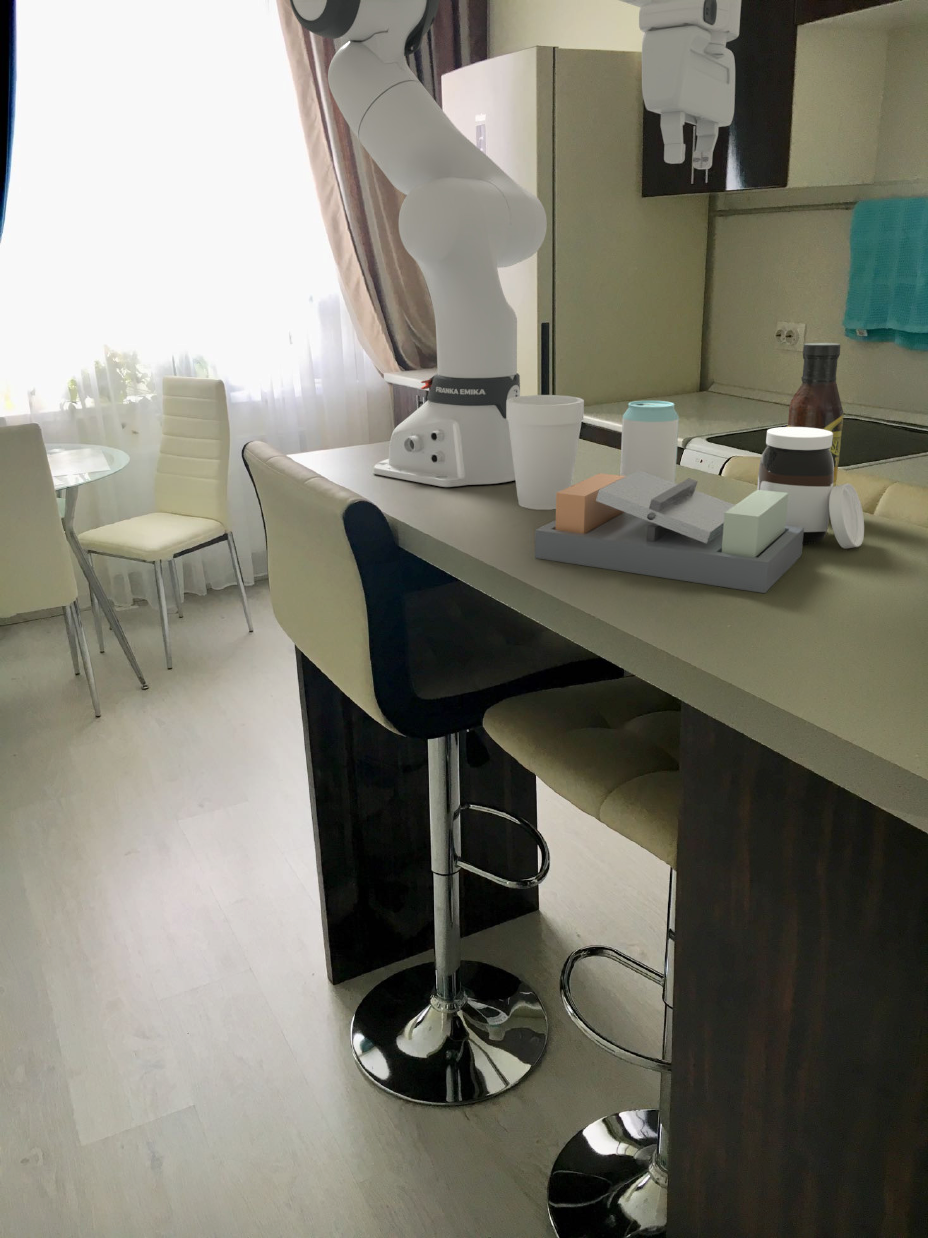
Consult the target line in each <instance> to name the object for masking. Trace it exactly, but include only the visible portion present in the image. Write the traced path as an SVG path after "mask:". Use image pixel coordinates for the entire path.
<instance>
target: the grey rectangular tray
mask: <svg viewBox="0 0 928 1238" xmlns="http://www.w3.org/2000/svg"><path fill="white" fill-rule="evenodd" d="M534 531H535V532H534V533H535V535H534V558H535V559H541V560H546V561H553V562H559V563H565V564H573V565H579V566H585V567H592V568H598V569H605V570H612V571H619V572H625V573H630V574H631V573H633V574H638V575H644V576H649V577H650V576H651V577H657V578H664V579H670V580H677V581H683V582H689V583H695V584H696V583H697V584H702V585H710V586H714V587H715V586H716V587H723V588H729V589H734V590H742V591H748V592H754V593H763V594H766V593H767V592H768V590H769V589H771V587H772V586H774V584H775V583H776V582H777V581H778V580H779V579H780V578H781V577H782V576H784V574H785V573H786V572H787V571H788V570H789V569H790V568H791V567H792V566H793V565H794V564H795V563H796V562H797V561H798V559H800V557H801V556H802V553H803V544H802V543H803V534H804V528H801V527H793V526H785V531H784V532H783V533H782V534H781V535H780V536H779V537H778V538H776V539H775V540H774V541H773V542H772V543H771V544H770V545H769V546H768V547H766V548H765V549H764V550H763V551H762V552H761V553H760V554H759V555H758V556H756V557H750V556H743V555H736V554H728V553H721V552H722V540H723V532H721V533H720V534H719V535H717V536H716V537H715V538H713V539H712V540H711V541H709V542H708V543H707V544H706V543H704V542H701V541H698V540H696V539H693V538H691V537H688V536H686V535H683V534H680V533H678V532H675V531H673V530H670V529H668V528H665V527H662V526H660V525H657V524H655V523H652V522H649V521H647V520H644V519H642V518H639V517H637V516H634V515H631V514H629V513H626V512H623V513H621V514H619V515H618V516H616V517H614V518H612V519H610V520H609V521H607V522H605V523H603V524H601V525H600V526H598V527H596V528H594V529H593V530H591V531H589V532H587V533H585V534H582V533H575V532H568V531H560V530H556V519H554V520H553V521H550V522H549V523H547V524H544V525H542V526H541V527H539V528H537V529H535V530H534Z"/></svg>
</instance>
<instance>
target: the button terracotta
mask: <svg viewBox="0 0 928 1238" xmlns="http://www.w3.org/2000/svg"><path fill="white" fill-rule="evenodd" d="M624 477H626V476H621V475H619V474H612V473H611V474H610V473H609V474H608V473H597V474H595V475H593V476H591V477H588V478H586V479H584V480H582V481H579V482H577V483H575V484H572V485H571V486H570V487H568V488H566V489H564V490H562V491H559V492H557V493H556V509H555V520H556V530H560V531H568V532H575V533H582V534H585V533H587V532H589V531H591V530H593V529H594V528H596V527H598V526H600V525H601V524H603V523H605V522H607V521H609V520H610V519H612V518H614V517H616V516H618V515H619V514H621V513H623V512H624V511H621V510H618V509H616V508H613V507H611V506H608V505H606V504H603V503H600V502H598V501H596V499H597V495H598V492H599V490H600V489H602V488H604V487H606V486H608V485H610V484H612V483H614V482H616V481H618V480H620V479H622V478H624Z"/></svg>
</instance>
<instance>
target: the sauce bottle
mask: <svg viewBox="0 0 928 1238" xmlns="http://www.w3.org/2000/svg"><path fill="white" fill-rule="evenodd" d="M840 355H841V343H834V342H813V343H812V342H811V343H809V342H808V343H804V344H803V349H802V358H803V366H802V368H803V369H802V376H801V378H800V379H801V382H802V383H801V385H800V387H799V388H798V389H797V391H796V392H795V393H794V395H793V396H792V399H790V402H789V407H788V420H787V421H788V422H787V425H786V427H808V428H817V429H823V430H828V431H831V432H832V433H833V439H832V446H831V447H830V451H831V454H832V457H833V463H834V480H833V487H834V486H837V477H838V470H839V461H840V451H841V441H842V430H843V423H844V414H845V413H844V410H843V405H842V401H841V397H840V392H839V389H838V384H837V369H838V360H839V357H840Z"/></svg>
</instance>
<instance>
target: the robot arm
mask: <svg viewBox="0 0 928 1238" xmlns="http://www.w3.org/2000/svg"><path fill="white" fill-rule="evenodd" d="M618 1H620V2H623V3H626V4H628V5H631V6H635V7H637V8H639V13H638V26H639V31H641V32H643V33H644V35H643V38H642V42H641V43H642V45H641V91H642V98H643V102H644V106H645V109H646V111H649V112H653V113H655V114H659V115H660V130H661V135H662V140H663V144H664V148H663V149H664V151H663V160H664V162H665V163H667V164H670V165H672V164H673V165H674V164H683V162H684V161H685V159H686V143H684V133H683V132H684V131H683V129H684V128H683V126H685V123H688V124H691V125H695V126H696V130H695V131H696V133H695V135H696V136H697V140H696V146H695V151H692V152H693V153H692V159H693V160H692V166H693V168H694V169H697V170H708V169H710V168H712V166H713V154H714V153H713V152H714V149H715V146H716V143H717V141H718V136H719V128H721V127H727V126H728V127H729V126H730V125H731V124H732V123H733V122H732V121H733V119H734V116H735V115H734V114H735V103H736V102H735V99H736V96H735V95H736V63H735V62H736V61H735V56H734V53H733V52H732V50H730V49H728V47H727V46H726V45H727V43H728V42H731V41H734V40H736V39H737V38H738V37H739V35H740V25H741V22H740V21H741V9H742V8H741V7H742V0H618ZM289 3H290V6H291V11H292V12H293V14H294V17H295V18H296V20H297V22H298V23H299V24H300V25H301V26H302V28H304V29H306V30H307V31H309V32H311V33H313V34H314V35H317V36H320V37H322V38H325V39H330V40H335V39H340V47H339V49H338V50H337V51H336V53H335V54H334V55H333V57H332V59H331V60H330V61H331V62H330V64H329V66H328V71H327V82H328V87H329V90H330V92H331V93H330V94H331V95H332V97H333V99H334V101H335V103H336V105H337V108H339V111H340V113H341V114H342V117H343V118H344V120H345V122H346V123H347V124H348V126H349V128H350V130H351V131H352V133H353V134H354V136H356V138H357V140H358V141H359V143H360V144H361V145H362V146H363V148H364V149H365V151H366V152H367V153H368V155H369V156H370V157H371V158H372V160H373V161H374V163H376V165H377V166H378V167H379V169H380V170H381V171H382V173H383V174H384V175H385V177H386V178H387V179H388V181H389V182H390V184H392V186H393V187H394V188H395V189H397V190H398V191H399V192H401V193H402V194H403V195H405V198H404V200H403V201H402V204H401V205H400V210H399V214H398V233H399V237H400V241H401V243H402V245H403V247H404V249H405V251H406V252H407V253H408V254H409V255H410V256H411V258H412V259H414V261H415V262H416V264H417V265H418V267H419V269H420V270H421V273H422V275H423V278H424V280H425V284H426V286H427V289H428V292H429V295H430V300H431V304H432V308H433V313H434V321H435V322H434V323H435V336H436V337H435V338H436V363H437V364H436V365H437V373H436V374H435V375H433V376H432V377H431V378H429V379H426V380H421V381H420V383H421V384H425V385H422V387H420V389H421V390H427V389H428V393H427V397H426V401H425V402H424V403H423V404H422V405H420V406H419V407H417V409H416V410H415V411H413V412H412V413H411V414H409V416H407V417H406V418H405V419H404V420H402V422H400V423H399V424H398V425H397V426H396V427H395V428H394V429H393V431H392V433H391V435H390V441H389V448H388V458H386V459H383V460H381V461H379V462H377V463H375V464H374V466H373V474H374V475H379V476H385V477H390V478H395V479H400V480H406V481H411V482H416V483H421V484H425V485H432V486H438V487H443V488H452V487H461V486H468V485H469V486H470V485H492V484H500V483H507V482H512V481H515V473H514V464H513V456H512V448H511V440H510V432H509V424H508V420H506V400H508V399H510V398H513V397H519V396H521V380H520V379H521V376H520V373H518V318H517V315H516V311H515V310H514V309H513V308H512V306H511V305H510V303H508V301H507V298H506V297H505V296H506V295H505V294H504V293H505V292H504V290H503V287H502V285H501V281H500V276H499V268H502V269H503V268H508V267H509V268H510V267H511V266H514V265H517V264H518V263H519V264H520V263H521V262H523V261H525V260H527V259H530V258H531V257H532V256H534V255H536V253H537V252H538V251H539V250H540V248H541V246H542V245H543V243H544V240H545V237H546V233H547V229H548V228H547V227H548V226H547V225H548V221H547V220H548V219H547V214H546V210H545V208H544V205H543V204H542V202H541V201H540V199H539V198H538V196H536V195H535V194H534V193H532V192H531V191H529V190H527V189H526V188H524V187H523V186H521V185H520V184H519V183H517V182H516V181H515V180H514V179H513V178H512V177H511V176H510V175H508V174H507V173H506V172H505V171H504V169H502V168H501V167H500V166H499V165H498V164H497V163H495V161H493V159H491V158H490V157H489V156H488V154H487V155H486V153H484V152H483V150H481V149H480V148H479V147H477V146H476V145H475V143H473V142H472V141H471V140H470V139H469V138H467V136H465V135H464V134H463V133H462V132H461V131H460V129H458V128H457V126H456V125H455V124H454V123H453V122H452V121H451V119H450V118H449V117H448V115H447V114H446V113H445V111H444V110H443V109H442V108H441V107H440V106H439V104H438V102H436V100H435V99H434V98H433V96H432V95H431V94H430V92H429V91H428V90H427V89H426V87H425V86H424V85H423V83H422V82H421V81H420V80H419V78H417V76H416V75H415V74H414V73H413V71H412V69H411V68H410V66H409V65H408V63H407V61H406V59H405V57H406V56H410V55H412V54H414V53H416V51H418V50H419V49H420V48H421V46H422V42H423V39H424V37H425V35H426V34H427V33H428V32H429V30H430V29H431V27H432V25H433V23H434V21H435V19H436V16H437V12H438V9H439V5H440V0H289ZM412 47H414V48H413V49H412Z"/></svg>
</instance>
